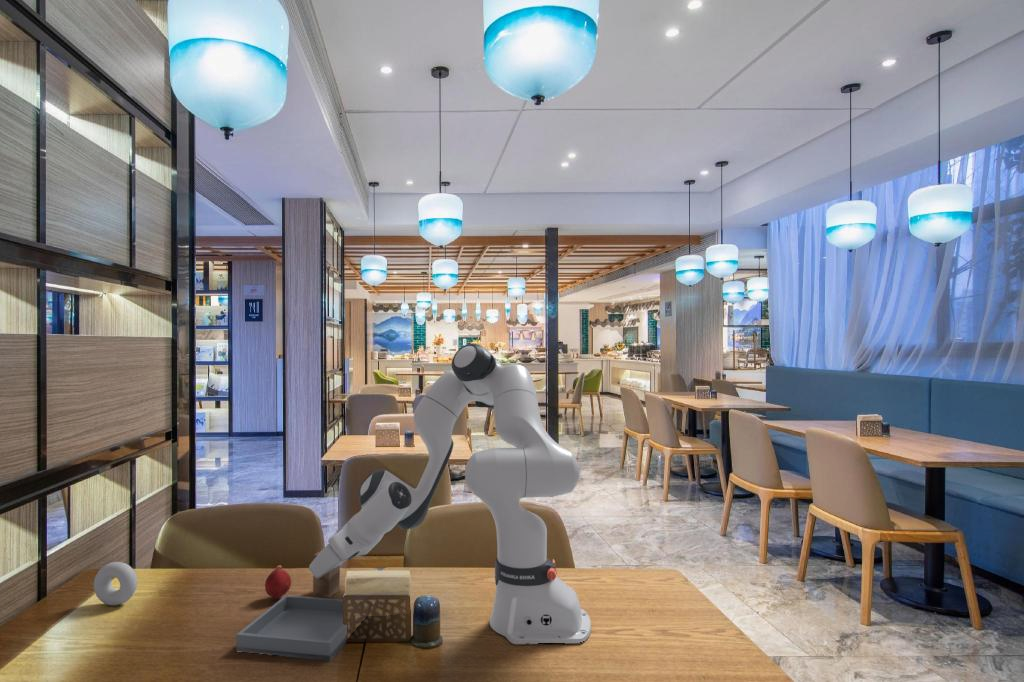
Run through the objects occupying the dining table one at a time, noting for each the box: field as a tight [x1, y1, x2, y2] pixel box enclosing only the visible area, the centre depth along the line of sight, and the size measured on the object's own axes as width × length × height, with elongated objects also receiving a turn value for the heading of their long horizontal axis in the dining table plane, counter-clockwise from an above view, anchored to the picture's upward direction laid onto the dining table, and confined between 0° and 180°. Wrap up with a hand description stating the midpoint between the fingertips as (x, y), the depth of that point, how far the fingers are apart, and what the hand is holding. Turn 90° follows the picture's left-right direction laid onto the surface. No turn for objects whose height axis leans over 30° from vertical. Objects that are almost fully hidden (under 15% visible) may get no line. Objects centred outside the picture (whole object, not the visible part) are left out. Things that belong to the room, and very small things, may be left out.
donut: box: [93, 561, 138, 607], centre depth 130 cm, size 10×4×10 cm, turn 85°
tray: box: [235, 594, 347, 662], centre depth 118 cm, size 20×18×4 cm
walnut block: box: [312, 549, 341, 599], centre depth 138 cm, size 4×4×10 cm
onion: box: [264, 565, 292, 600], centre depth 134 cm, size 6×6×8 cm
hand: (324, 571), depth 138 cm, fingers closed on walnut block, 4 cm apart
